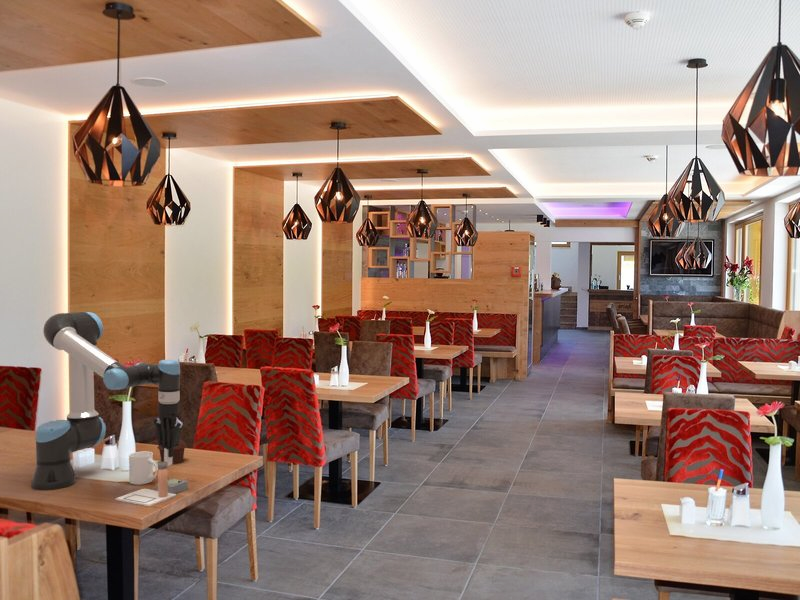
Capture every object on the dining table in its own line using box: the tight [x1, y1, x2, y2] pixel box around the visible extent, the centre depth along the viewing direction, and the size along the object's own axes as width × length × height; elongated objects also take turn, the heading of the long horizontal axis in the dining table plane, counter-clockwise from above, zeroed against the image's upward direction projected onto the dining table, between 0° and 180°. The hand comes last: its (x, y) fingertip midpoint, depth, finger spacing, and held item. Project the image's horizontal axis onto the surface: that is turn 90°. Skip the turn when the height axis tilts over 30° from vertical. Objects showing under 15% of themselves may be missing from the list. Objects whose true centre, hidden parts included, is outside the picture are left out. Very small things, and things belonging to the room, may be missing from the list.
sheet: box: [115, 488, 177, 507], centre depth 252 cm, size 16×13×1 cm
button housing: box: [155, 478, 189, 495], centre depth 260 cm, size 8×8×3 cm
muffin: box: [157, 438, 187, 465], centre depth 300 cm, size 12×11×10 cm
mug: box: [128, 450, 158, 486], centre depth 271 cm, size 9×12×11 cm
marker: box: [157, 461, 169, 497], centre depth 252 cm, size 3×3×12 cm
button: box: [168, 478, 179, 485], centre depth 260 cm, size 4×4×3 cm
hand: (168, 465), depth 261 cm, fingers closed
